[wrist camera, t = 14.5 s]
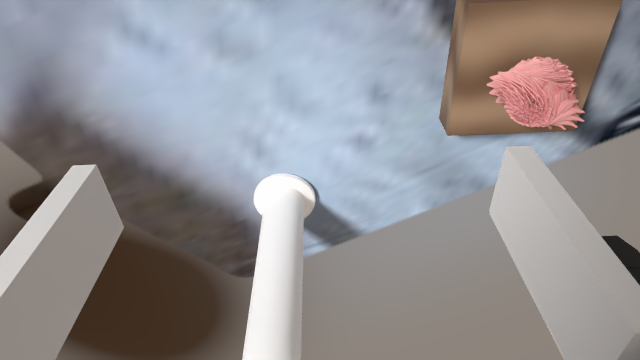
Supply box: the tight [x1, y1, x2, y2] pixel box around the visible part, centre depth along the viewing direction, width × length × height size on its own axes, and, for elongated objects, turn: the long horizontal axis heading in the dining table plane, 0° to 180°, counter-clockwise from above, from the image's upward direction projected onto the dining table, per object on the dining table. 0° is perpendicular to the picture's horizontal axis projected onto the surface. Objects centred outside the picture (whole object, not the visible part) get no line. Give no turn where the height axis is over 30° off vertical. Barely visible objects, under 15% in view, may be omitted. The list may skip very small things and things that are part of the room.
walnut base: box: [439, 0, 623, 136], centre depth 38 cm, size 12×12×4 cm
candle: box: [242, 174, 315, 360], centre depth 39 cm, size 7×7×25 cm
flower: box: [486, 56, 585, 130], centre depth 34 cm, size 8×8×6 cm
